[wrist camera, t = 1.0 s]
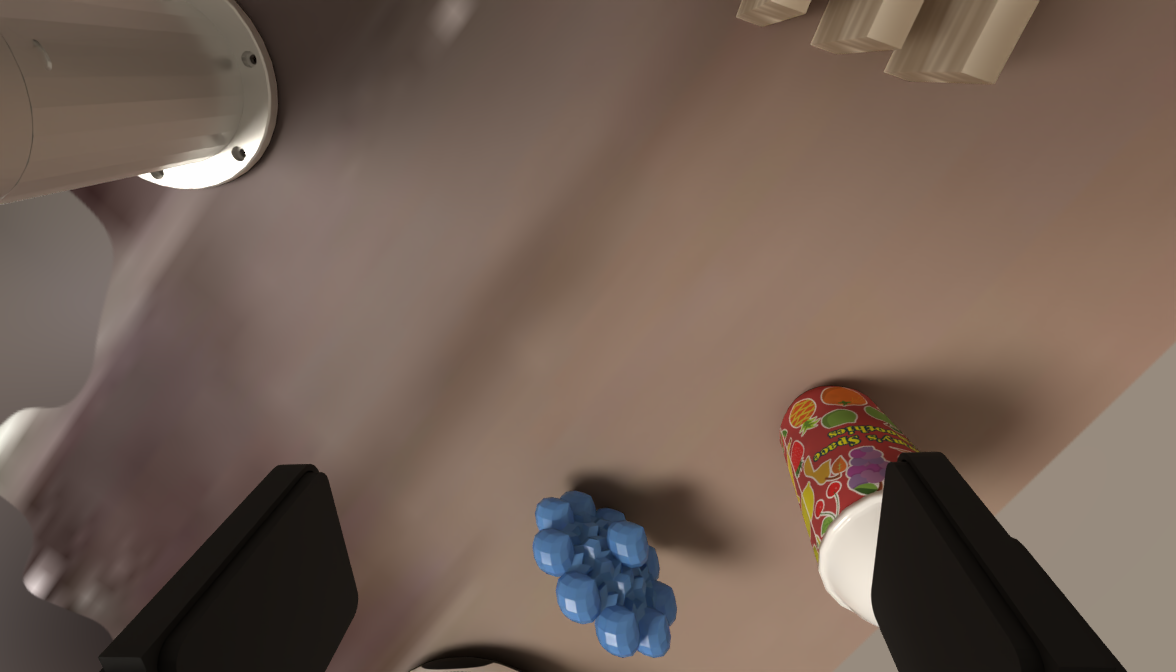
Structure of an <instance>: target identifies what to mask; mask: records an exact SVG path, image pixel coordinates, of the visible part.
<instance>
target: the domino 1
mask: <svg viewBox="0 0 1176 672" xmlns="http://www.w3.org/2000/svg"><path fill="white" fill-rule="evenodd" d="M810 2H811V0H742V2H741V4H740V7H739V10H738V12H737V15H736V18H739V19H742V20H744V21H747V22H750V23H753V24H755V25H758V26H761V27H764V26H768V25H771V24H774V23H777V22H781V21H784V20H787V19H791V18H794V17H797V16H800V15H804V14H806V12H807V9H808V7H809V4H810Z"/></svg>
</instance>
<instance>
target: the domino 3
mask: <svg viewBox="0 0 1176 672" xmlns="http://www.w3.org/2000/svg"><path fill="white" fill-rule="evenodd" d="M1039 1H1040V0H924V2H923V4H922V6H921V8H920V10H919V13H918V15H917V17H916V19H915V21H914V23H913V25H912V27H911V29H910V31H909V34H908V36H907V38H906V40H905V42H904V44H903V46H902V48H901V49H900V50H894V51H893V53H892V55H891V57H890V59H889V61H888V64H887V66H886V68H885V70H884V72H885V73H888V74H890V75H893V76H896V77H898V78H901V79H904V80H907V81H909V82H939V83H968V84H995V82H996V80H997V78H998V77H999V75H1000V73H1001V71H1002V69H1003V67H1004V65H1005V64H1006V62H1007V60H1008V58H1009V56H1010V54H1011V53H1012V51H1013V49H1014V47H1015V45H1016V43H1017V41H1018V40H1019V38H1020V36H1021V34H1022V32H1023V30H1024V28H1025V27H1026V25H1027V23H1028V21H1029V19H1030V17H1031V16H1032V14H1033V12H1034V10H1035V8H1036V6H1037V4H1038V3H1039Z"/></svg>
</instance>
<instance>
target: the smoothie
mask: <svg viewBox="0 0 1176 672" xmlns="http://www.w3.org/2000/svg"><path fill="white" fill-rule="evenodd" d="M780 443H781V446H782V449H783V453H784V456H785V459H786V462H787V466H788V469H789V472H790V475H791V479H792V482H793V485H794V488H795V492H796V495H797V498H798V501H799V505H800V508H801V511H802V514H803V518H804V521H805V524H806V527H807V531H808V534H809V537H810V540H811V544H812V547H813V550H814V553H815V557H816V559H817V562H818V570H819V573H820V576H821V579H822V581H823V584H824V586H825V589H826V590H827V592H828V593H829V594H830V595H831V596H832V597H833V598H834V599H835V600H836V601H837V602H838V603H839V605H841V606H843V607H845V608H847V609H848V610H850V611H852V612H854V613H855V614H857V615H858V616H859V617H861V618H862V619H863V620H865V621H867V622H869V623H871V624H873V625H875V626H877V627H879V625H878V623H877V621H876V619H875V616H874V613H873V609H872V603H871V587H872V579H873V571H874V562H875V554H876V546H877V537H878V529H879V521H880V512H881V504H882V496H883V488H884V479H885V471H886V466H887V464H888V463H889V462H897V459H898V457H899V455H900V454H901V453H903V452H919V451H918V449H917V448H916V447H915V446H914V445H913V444H912V443H911V442H910V441H909V440H908V439H907V438H906V437H905V436H904V435H903V433H902V432H901V431H900V430H899V429H898V428H897V427H896V426H895V425H894V424H893V423H892V422H891V421H890V420H889V419H888V417H887V416H886V415H885V414H884V413H883V412H882V411H881V410H880V409H879V408H878V407H877V406H876V405H875V404H874V403H873V402H872V400H871V399H870V398H869V397H868V396H866V395H864V394H862V393H861V392H859V391H857V390H855V389H850V388H844V387H837V386H822V387H817V388H814V389H812V390H809V391H806V392H805V393H803V394H802V395H801V396H799V397H798V398H796V399H795V400H794V402H793V403H792V404H791V406H790V407H789V408H788V410H787V413H786V414H785V416H784V419H783V421H782V424H781V427H780Z"/></svg>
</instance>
